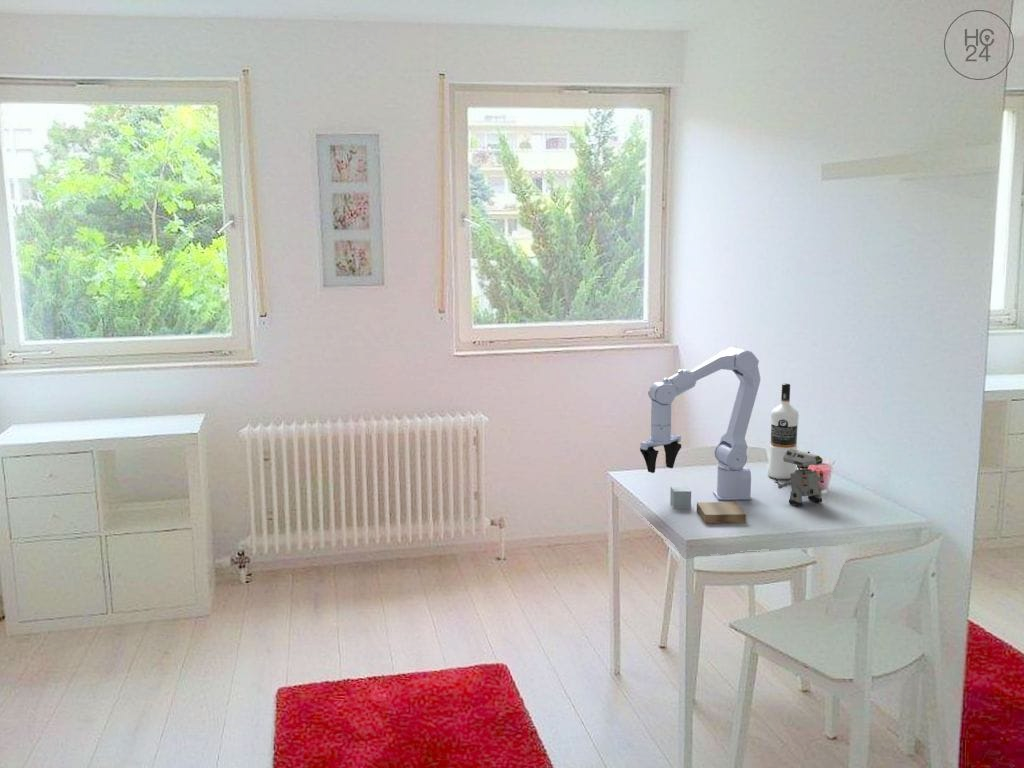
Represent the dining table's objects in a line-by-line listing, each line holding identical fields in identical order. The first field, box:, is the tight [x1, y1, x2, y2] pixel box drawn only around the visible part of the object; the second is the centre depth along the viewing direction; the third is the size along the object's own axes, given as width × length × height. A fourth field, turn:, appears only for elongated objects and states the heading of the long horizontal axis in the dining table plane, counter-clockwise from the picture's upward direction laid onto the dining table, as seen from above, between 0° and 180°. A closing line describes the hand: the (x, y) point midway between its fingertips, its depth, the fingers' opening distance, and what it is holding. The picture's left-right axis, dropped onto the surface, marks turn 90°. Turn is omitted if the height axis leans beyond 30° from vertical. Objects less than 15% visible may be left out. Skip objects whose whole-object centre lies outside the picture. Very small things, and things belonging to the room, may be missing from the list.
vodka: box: [766, 383, 800, 480], centre depth 291 cm, size 9×9×30 cm
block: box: [669, 485, 692, 509], centre depth 265 cm, size 5×5×5 cm
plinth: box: [696, 501, 747, 525], centre depth 254 cm, size 11×11×2 cm
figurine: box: [774, 449, 825, 508], centre depth 266 cm, size 9×12×15 cm
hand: (660, 469), depth 267 cm, fingers open, 7 cm apart
